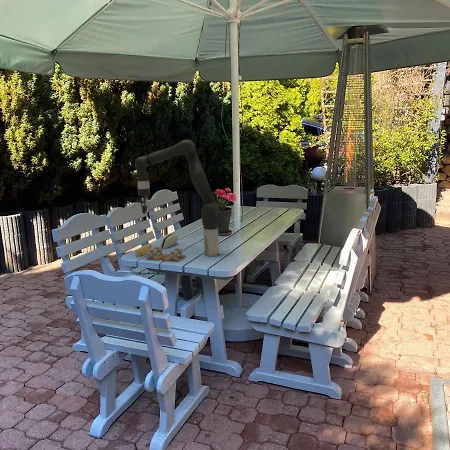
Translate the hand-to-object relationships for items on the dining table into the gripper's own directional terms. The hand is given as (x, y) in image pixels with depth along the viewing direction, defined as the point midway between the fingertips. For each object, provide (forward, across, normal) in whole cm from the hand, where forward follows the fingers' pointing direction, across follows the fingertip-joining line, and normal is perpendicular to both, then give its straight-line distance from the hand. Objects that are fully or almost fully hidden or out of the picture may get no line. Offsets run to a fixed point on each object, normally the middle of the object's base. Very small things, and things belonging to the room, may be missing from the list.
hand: (145, 212), depth 300 cm
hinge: (+27, +13, -14) cm, 33 cm away
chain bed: (+26, -18, -14) cm, 35 cm away
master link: (+27, -7, +1) cm, 28 cm away
